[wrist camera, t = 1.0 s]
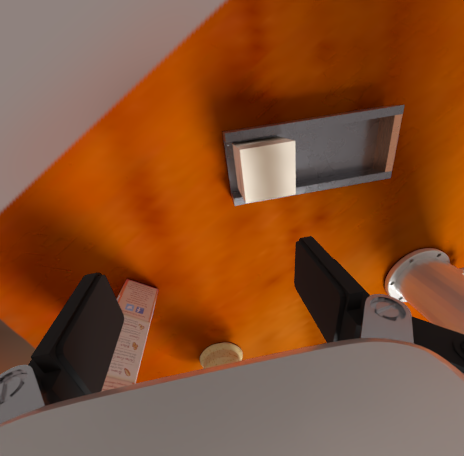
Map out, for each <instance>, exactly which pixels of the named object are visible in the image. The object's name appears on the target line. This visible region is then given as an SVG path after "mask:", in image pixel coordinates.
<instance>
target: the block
mask: <svg viewBox="0 0 464 456" xmlns="http://www.w3.org/2000/svg"><path fill="white" fill-rule="evenodd" d="M232 146H233V154H234V161H235V169H236V177H237V185H238V189H239V191H240V193H241V195H242V197H243V199H244V201H245V203H250V202H256V201H262V200H267V199H273V198H279V197H284V196H290V195H296V161H295V141H294V140H291V139H287V138H283V137H279V136H275V137H269V138H263V139H257V140H250V141H244V142H238V143H232Z"/></svg>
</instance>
